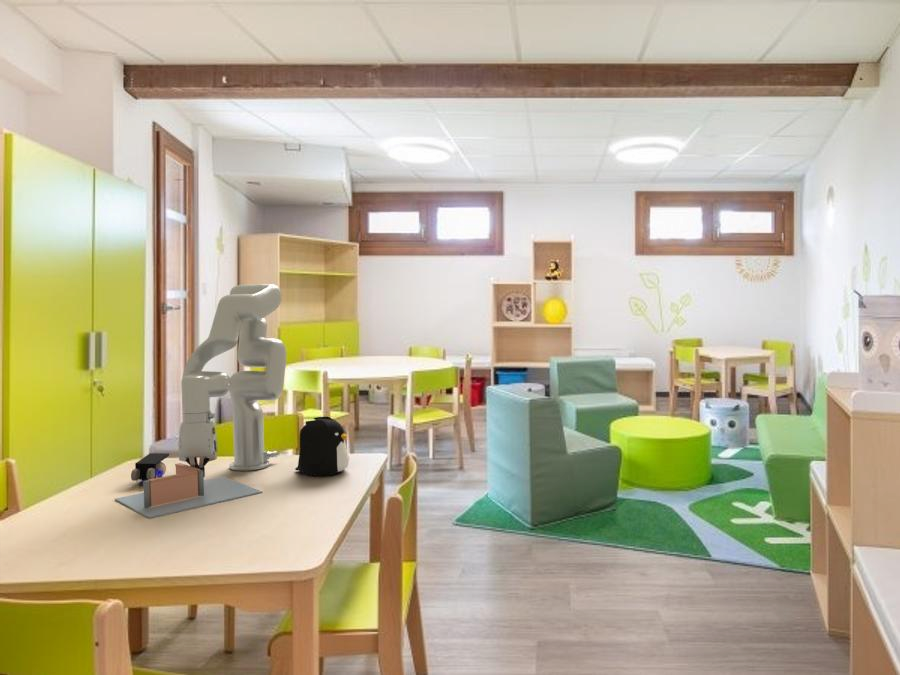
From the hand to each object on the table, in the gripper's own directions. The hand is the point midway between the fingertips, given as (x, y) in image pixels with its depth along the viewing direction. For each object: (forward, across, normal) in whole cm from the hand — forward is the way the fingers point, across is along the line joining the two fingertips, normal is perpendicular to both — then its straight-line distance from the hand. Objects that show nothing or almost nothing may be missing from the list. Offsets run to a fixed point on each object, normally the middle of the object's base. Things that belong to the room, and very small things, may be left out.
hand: (198, 480), depth 207 cm
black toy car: (+3, +18, -11) cm, 22 cm away
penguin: (+3, -33, -18) cm, 37 cm away
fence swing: (+2, +2, +2) cm, 4 cm away
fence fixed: (+3, +2, +12) cm, 13 cm away
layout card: (+3, 0, +6) cm, 7 cm away
